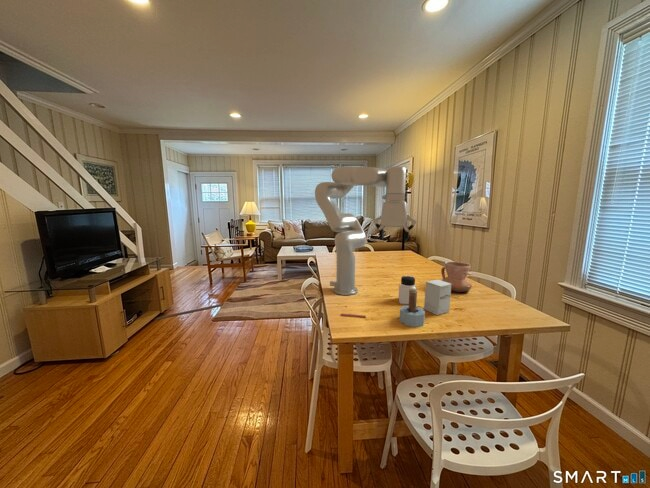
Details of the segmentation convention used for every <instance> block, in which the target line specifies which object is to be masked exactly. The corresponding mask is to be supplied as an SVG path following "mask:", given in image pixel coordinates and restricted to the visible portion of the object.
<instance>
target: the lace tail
mask: <svg viewBox="0 0 650 488" xmlns="http://www.w3.org/2000/svg"><path fill="white" fill-rule="evenodd" d="M340 316H342V317H350V318H351V317H353V318H354V317H355V318H366V317H367V315H364V314H355V313H354V314H352V313H340Z"/></svg>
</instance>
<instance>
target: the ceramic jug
mask: <svg viewBox="0 0 650 488" xmlns="http://www.w3.org/2000/svg"><path fill="white" fill-rule="evenodd" d="M471 267H472V266H471V264H470V263H468V262H467V263H465V262H460V261H445V262H444V266H442V268H441V276H442V279H441V281H444V282H447V283H451V292H456V293H465V292H469V291H470V290H471V289H472V285H473V284H472V283H471V282H470V281H469V280H468V279H467V278H466V277H467V276H472V275H473V273H472V272H470V271H471ZM445 273H446V274H445ZM446 275H447V276H446Z"/></svg>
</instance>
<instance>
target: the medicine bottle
mask: <svg viewBox="0 0 650 488" xmlns="http://www.w3.org/2000/svg"><path fill="white" fill-rule="evenodd" d="M415 284H416V278H415V277H414V276H411V275H403V276H402V277H401V279H400V284H398V301H399V304H401V305H402V304H403V305H409V289H410V288H415V289H417V288H416V286H415Z"/></svg>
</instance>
